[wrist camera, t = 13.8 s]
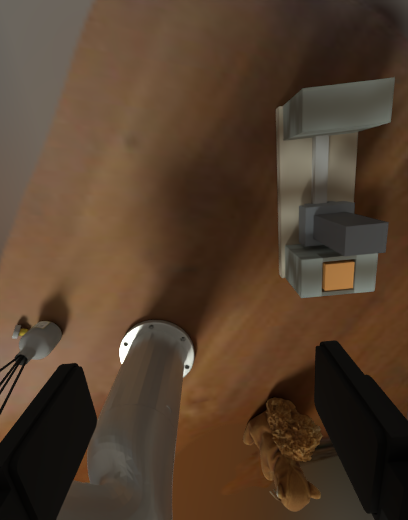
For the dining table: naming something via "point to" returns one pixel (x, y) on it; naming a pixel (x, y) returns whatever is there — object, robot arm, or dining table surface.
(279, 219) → the grey block assembly
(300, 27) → the dining table surface
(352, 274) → the button
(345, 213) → the block
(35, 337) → the reed diffuser
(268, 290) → the dining table surface
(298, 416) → the stuffed squirrel
